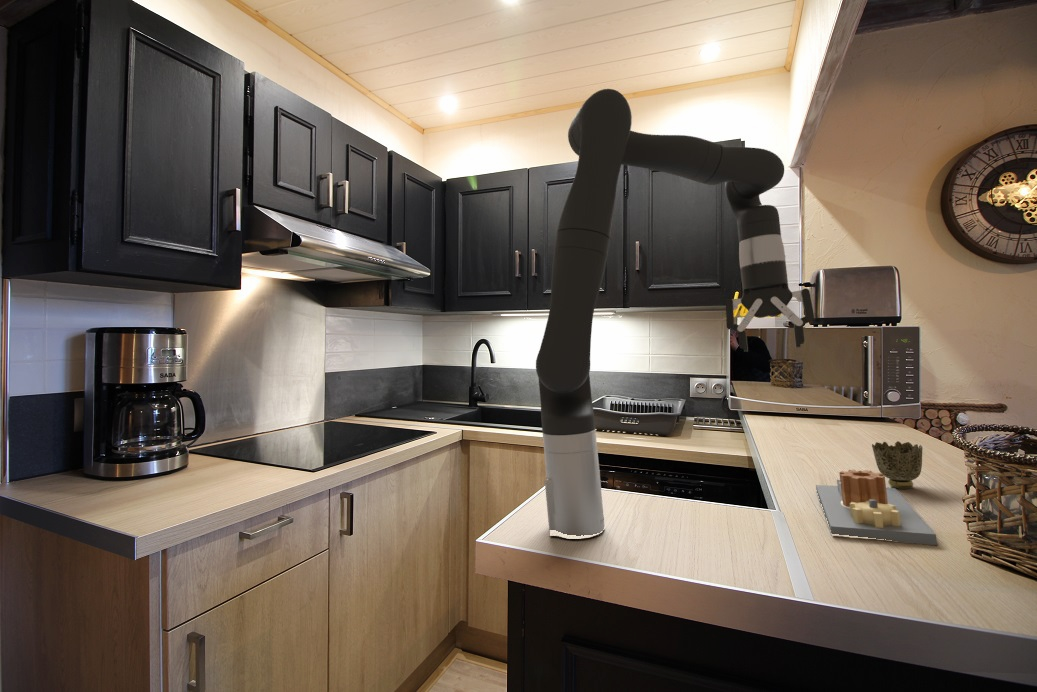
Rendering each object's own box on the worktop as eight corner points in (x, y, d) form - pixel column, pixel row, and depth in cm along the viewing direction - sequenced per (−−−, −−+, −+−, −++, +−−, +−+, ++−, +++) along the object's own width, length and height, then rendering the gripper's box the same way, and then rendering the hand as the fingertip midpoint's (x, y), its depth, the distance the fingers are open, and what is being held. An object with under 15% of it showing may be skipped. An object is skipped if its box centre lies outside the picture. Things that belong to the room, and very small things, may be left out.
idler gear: (854, 511, 73) (851, 480, 73) (835, 499, 79) (832, 470, 79) (897, 510, 72) (893, 478, 72) (874, 498, 78) (870, 468, 78)
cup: (881, 491, 85) (876, 448, 85) (872, 481, 92) (867, 441, 92) (933, 494, 82) (928, 449, 82) (920, 482, 88) (915, 441, 88)
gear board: (937, 545, 63) (933, 512, 63) (831, 536, 68) (828, 506, 68) (896, 496, 82) (893, 471, 82) (816, 492, 88) (814, 469, 88)
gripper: (719, 267, 86) (728, 353, 85) (808, 252, 79) (819, 346, 79) (722, 272, 93) (730, 352, 92) (805, 259, 86) (814, 345, 85)
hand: (771, 349), depth 85 cm, fingers open, 8 cm apart
